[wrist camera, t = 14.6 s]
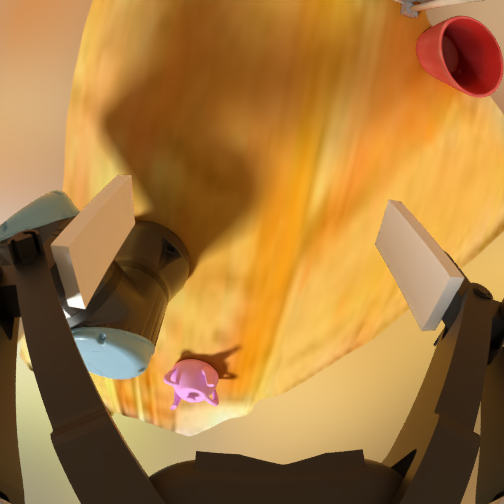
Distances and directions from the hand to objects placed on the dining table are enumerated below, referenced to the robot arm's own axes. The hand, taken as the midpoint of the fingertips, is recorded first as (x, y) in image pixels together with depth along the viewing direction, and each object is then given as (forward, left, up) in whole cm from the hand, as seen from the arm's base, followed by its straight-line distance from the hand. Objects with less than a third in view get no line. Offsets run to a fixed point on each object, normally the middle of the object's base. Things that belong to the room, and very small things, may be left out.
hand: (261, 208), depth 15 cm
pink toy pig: (-7, -59, -30) cm, 66 cm away
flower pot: (+23, +16, -30) cm, 41 cm away
